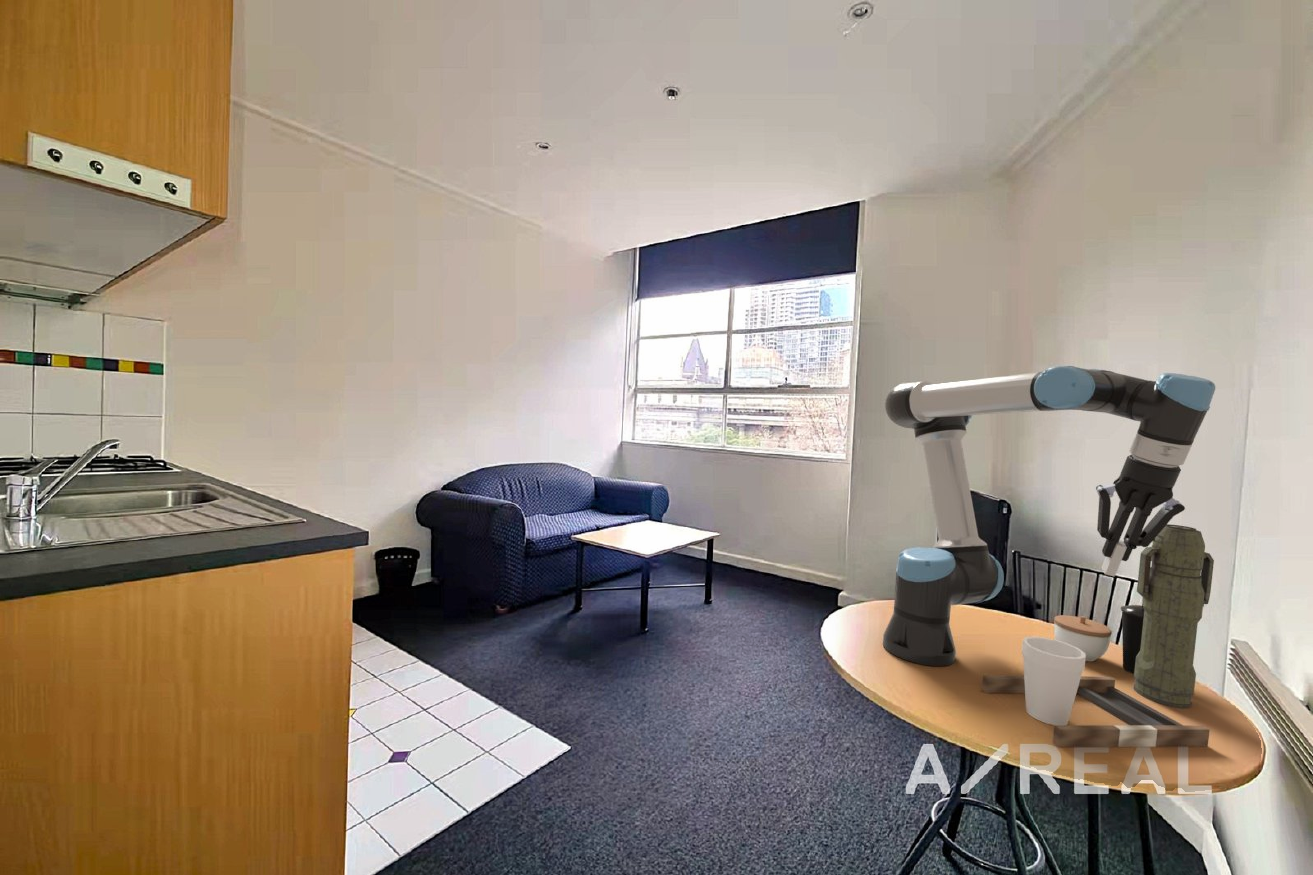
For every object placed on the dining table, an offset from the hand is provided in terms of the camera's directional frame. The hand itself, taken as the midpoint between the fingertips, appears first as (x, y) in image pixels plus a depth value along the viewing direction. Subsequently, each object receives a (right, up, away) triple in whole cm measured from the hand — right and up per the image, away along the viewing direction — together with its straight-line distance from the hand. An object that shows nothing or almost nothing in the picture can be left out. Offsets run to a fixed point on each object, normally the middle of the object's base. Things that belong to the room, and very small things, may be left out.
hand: (1107, 571), depth 106 cm
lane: (-8, -26, -5) cm, 27 cm away
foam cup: (-16, -25, -6) cm, 31 cm away
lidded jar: (+12, -26, +23) cm, 37 cm away
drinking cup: (+20, -27, +16) cm, 37 cm away
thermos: (+15, -27, +5) cm, 31 cm away
